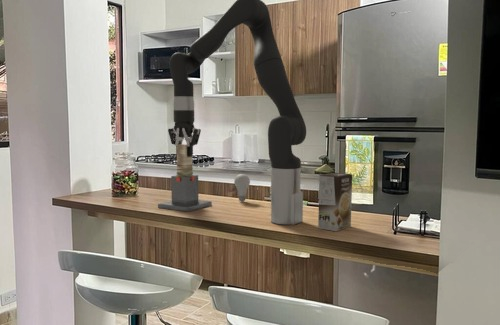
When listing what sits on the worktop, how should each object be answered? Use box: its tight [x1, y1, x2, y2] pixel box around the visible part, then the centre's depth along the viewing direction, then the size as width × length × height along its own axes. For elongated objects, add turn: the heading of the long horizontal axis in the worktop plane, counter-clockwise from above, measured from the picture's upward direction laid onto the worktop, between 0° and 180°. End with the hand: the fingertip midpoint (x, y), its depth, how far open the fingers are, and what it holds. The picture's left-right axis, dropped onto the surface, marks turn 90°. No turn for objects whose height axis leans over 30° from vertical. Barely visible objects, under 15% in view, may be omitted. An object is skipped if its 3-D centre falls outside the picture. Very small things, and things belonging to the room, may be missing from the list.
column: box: [176, 143, 194, 177], centre depth 166 cm, size 4×4×16 cm
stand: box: [157, 174, 213, 213], centre depth 167 cm, size 14×14×12 cm
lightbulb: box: [233, 173, 251, 203], centre depth 176 cm, size 6×6×11 cm
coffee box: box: [317, 172, 353, 232], centre depth 134 cm, size 9×6×16 cm
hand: (184, 156), depth 165 cm, fingers closed on column, 4 cm apart
